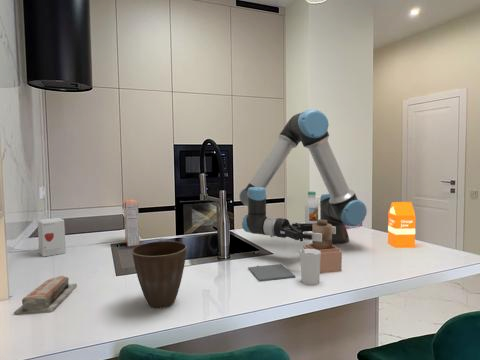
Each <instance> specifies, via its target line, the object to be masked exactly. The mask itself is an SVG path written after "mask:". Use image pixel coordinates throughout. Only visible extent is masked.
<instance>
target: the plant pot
mask: <svg viewBox="0 0 480 360" xmlns="http://www.w3.org/2000/svg"><path fill="white" fill-rule="evenodd" d="M187 249H188V247H187V245H186V244H185V243H183V242H181V241H174V240H173V241H172V240H162V241H161V240H160V241H152V242H146V243H143V244H140V245H138V246H134V247H133V248H132V250H131V252H132V253H131V254H132V259H133V263H134V268H135V272H136V276H137V279H138V283H139V285H140V289H141V292H142V293H143V297H144V299H145V301H146V303H147V305H148V306H149V307H150V308H152V307H153V309H164V307H165V308H168V307H171V306H172V305H174V304H175V301H176V299H177V296H178V292H179V289H180V286H181V284H182V283H181V282H182V279H183V274H184V270H185V269H184V268H185V263H186V255H187ZM170 305H171V306H170Z"/></svg>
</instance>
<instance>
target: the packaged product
mask: <svg viewBox="0 0 480 360" xmlns="http://www.w3.org/2000/svg"><path fill="white" fill-rule="evenodd" d="M77 286H78V283H76V282H75V283H69V277H68V276H64V275H60V276H57V277H52V278H50V279H47V280H45V281H44V282H43V283H42V284H40V285H38V287H36V288H35V289H34V290H32V291H30V293H29V294H27V295H25V296H24V297H23V298H22V300H21V303H22V305H21V306H20V307H19V308H17V309H16V310H14V312H13V314H14V315H17V316H19V315H30V314H31V315H32V314H43V313H53V312H55V310H56V309H57V308H58V307H59V306H60V305H61V304H62V303H64V302H65V301H66V299H67V298H68V297H69V296H70V295H72V293H73V292H74V291H75V290H76V289H77ZM74 289H75V290H74ZM73 290H74V291H73ZM72 291H73V292H72Z"/></svg>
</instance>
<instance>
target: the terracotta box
mask: <svg viewBox="0 0 480 360" xmlns="http://www.w3.org/2000/svg"><path fill="white" fill-rule="evenodd" d="M303 249H315V248H313V247H312V243H305V246H303ZM340 249H341V248H340V247H337V246H336V245H334V244H332V249H323V250H319V251H320V252H321V257H320V274H324V273H334V272H342V267H343V266H342V265H343V264H342V262H343V261H342V255H343V253H342V250H340ZM316 250H317V249H316Z"/></svg>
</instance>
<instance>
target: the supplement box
mask: <svg viewBox="0 0 480 360" xmlns="http://www.w3.org/2000/svg"><path fill="white" fill-rule="evenodd" d="M37 231H38V232H37V233H38V235H37V236H38V239H37V241H38V253H39V255H40V256H41V257H43V256H47V257H51V256H50V255H52V256H57V255H56V254H58V255H63V253H64V254H66V252H67V251H66V250H67V248H66V227H65V220H64V218H61V217H55V218H43V219H37Z"/></svg>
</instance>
